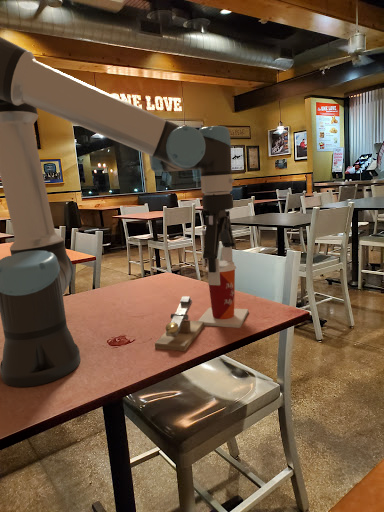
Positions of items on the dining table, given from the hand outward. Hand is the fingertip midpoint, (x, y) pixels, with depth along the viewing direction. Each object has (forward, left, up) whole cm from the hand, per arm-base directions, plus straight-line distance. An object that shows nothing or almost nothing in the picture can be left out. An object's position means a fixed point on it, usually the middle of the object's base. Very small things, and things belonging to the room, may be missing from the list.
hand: (221, 277), depth 93 cm
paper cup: (0, 0, -10) cm, 10 cm away
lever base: (-13, +7, -11) cm, 18 cm away
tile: (0, 0, -11) cm, 11 cm away
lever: (-13, +7, -6) cm, 16 cm away
